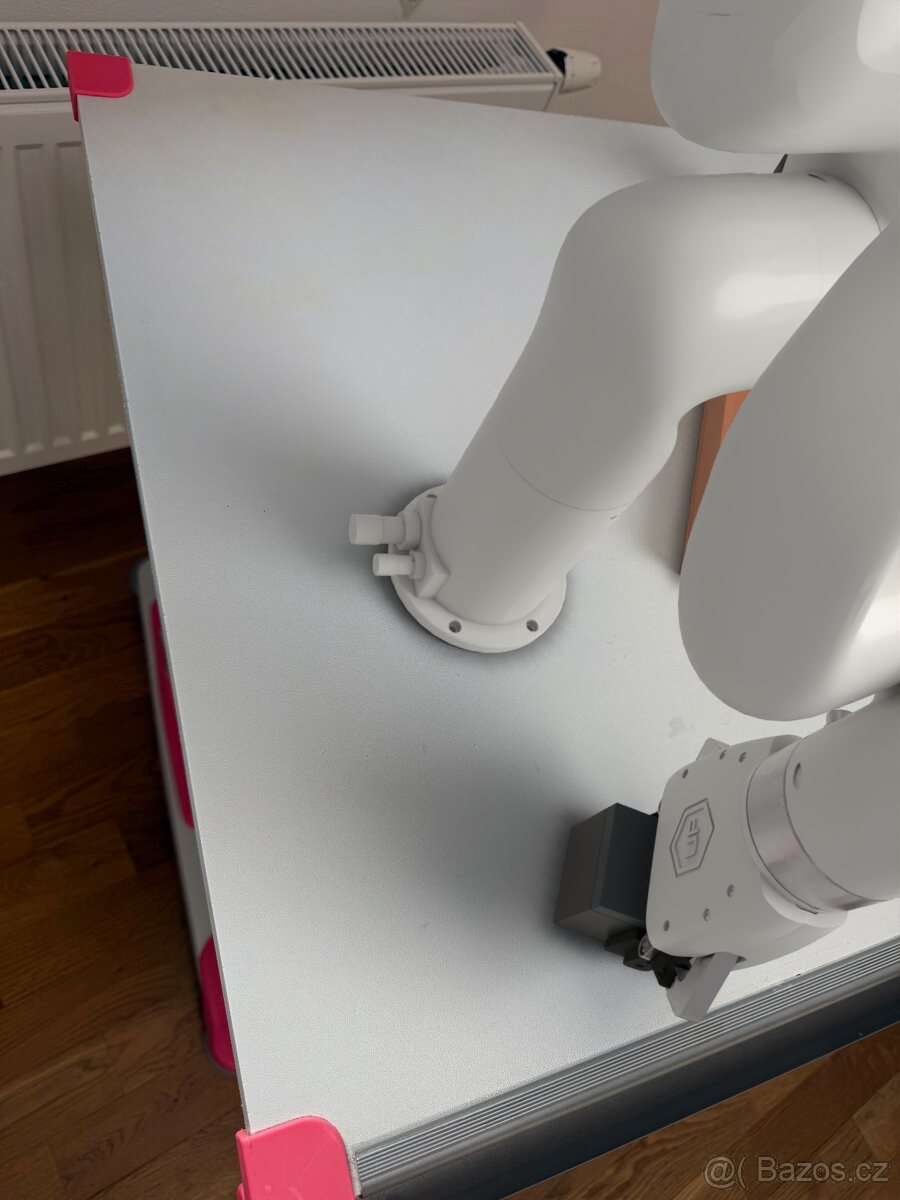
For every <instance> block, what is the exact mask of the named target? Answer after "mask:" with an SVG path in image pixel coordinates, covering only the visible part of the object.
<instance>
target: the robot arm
mask: <svg viewBox="0 0 900 1200" xmlns="http://www.w3.org/2000/svg"><path fill="white" fill-rule="evenodd" d="M654 23H655V24H654V29H653V34H652V39H651V49H650V56H649V72H650V87H651V92H652V93H651V94H652V96H653V100H654V103H655V104H656V106H657V109H658V112H659V114H660V116H661V117H662V119H663V120H664V122H665V123H666V124H667V125H668V126H669V127H670V128H671V129H672V130H673V131H675V132H676V133H677V134H678V135H679V136H681V137H682V138H683V139H685V140H687V141H689V142H691V143H694V144H696V145H698V146H702V147H704V148H706V149H711V150H714V151H719V152H727V153H733V154H754V155H784V154H788V156H787V159H786V162H785V165H784V168H783V171H782V173H773V172H772V173H771V172H769V173H768V172H767V173H765V172H764V173H756V172H734V173H714V174H713V173H711V174H691V175H690V174H689V175H687V174H686V175H677V176H667V177H661V178H656V179H652V180H646V181H641V182H637V183H635V184H632V185H629V186H626V187H623V188H620V189H618V190H616V191H612V192H611V193H609V194H607V195H605V196H604V197H602V198H600V199H599V200H597V201H596V202H595V203H593V204H592V205H591V206H589V207H588V208H587V209H586V210H584V212H583V213H582V214H581V215H579V217H578V218H577V219H576V221H575V222H574V223H573V225H571V226H570V227H571V228H570V229H569V231H568V232H567V234H566V235H565V238H564V240H563V242H562V245H561V246H560V248H559V251H558V253H557V256H556V260H555V262H554V266H553V268H552V272H551V277H550V278H549V282H548V286H547V288H546V289H547V290H546V292H545V297H544V299H543V303H542V306H541V308H540V312H539V315H538V317H537V320H536V322H535V324H534V327H533V329H532V332H531V334H530V336H529V338H528V340H527V342H526V344H525V346H524V348H523V349H522V352H521V354H520V355H519V358H518V359H517V361H516V362H515V365H514V366H513V368H512V370H511V372H510V373H509V375H508V377H507V378H506V380H505V382H504V384H503V385H502V387H501V389H500V390H499V392H498V393H497V394H498V395H497V397H496V398H495V400H494V402H493V403H492V405H491V407H490V408H489V410H488V412H487V414H486V415H485V417H484V418H483V420H482V422H481V424H480V425H479V427H478V429H477V430H476V432H475V434H474V436H473V437H472V438H471V440H470V442H469V444H468V445H467V447H466V448H465V451H464V452H463V453H462V455H461V457H460V459H459V460H458V462H457V464H456V465H455V467H454V469H453V470H452V472H451V474H450V476H449V477H448V479H447V480H446V482H445V483H444V484H440V485H437V486H435V487H431V488H429V489H427V490H425V491H423V492H422V493H420V494H419V495H416V496H415V497H414V498H413V499H412V500H411V501H410V502H409V503H408V504H407V505H406V506H405V507H404V509H403V510H400V511H399V512H398V513H397V514H396V516H391V515H390V516H388V515H381V514H367V513H366V514H365V513H352V514H351V515H350V517H349V520H348V539H349V543H350V544H351V545H367V546H372V545H373V546H375V545H376V546H380V545H383V544H386V545H387V544H388V546H387V553H374V554H373V557H372V571H373V574H374V576H378V577H379V576H381V577H382V576H384V577H385V576H386V577H387V576H389V577H390V579H391V582H392V584H393V587H394V590H395V592H396V594H397V596H398V598H399V599H400V601H401V602H402V604H403V606H404V607H405V609H406V610H407V611H408V613H409V614H410V615H411V616H412V617H413V618H414V619H415V620H416V621H417V623H419V625H421V626H422V627H423V628H424V629H426V630H427V631H428V632H429V633H431V634H432V635H433V636H435V637H437V638H439V639H440V640H441V641H444V642H446V643H448V644H450V645H451V646H455V647H457V648H460V649H463V650H467V651H470V652H476V653H484V654H499V653H501V654H502V653H505V652H511V651H515V650H519V649H521V648H524V647H525V646H527V645H530V644H531V643H533V642H534V641H536V640H537V639H538V638H539V637H540V636H542V635H543V634H544V633H545V632H546V631H547V630H548V629H549V628H550V627H551V626H552V624H554V622H555V620H556V619H557V617H558V616H559V614H560V613H561V610H562V607H563V604H564V600H565V598H566V591H567V584H568V583H567V581H568V580H567V574H568V573H570V571H571V570H572V569H573V568H574V567H575V565H576V564H577V563H578V562H579V561H580V560H581V559H582V558H583V557H584V556H585V555H586V554H587V552H588V551H589V550H590V549H591V548H592V547H593V546H594V545H595V544H596V543H597V541H599V539H600V538H601V537H603V535H604V534H605V533H606V532H607V531H608V530H609V528H611V527H612V525H613V524H614V523H615V522H616V521H617V520H618V519H619V518H620V516H621V515H623V514H624V512H625V511H626V510H627V509H628V508H629V507H630V506H631V505H632V503H634V501H636V499H637V498H638V497H639V496H640V494H641V493H642V492H643V491H644V490H645V489H646V488H647V487H648V486H649V484H650V483H651V482H652V481H653V480H654V479H655V477H657V475H658V474H659V473H660V472H661V470H662V469H663V468H664V466H665V465H666V464H667V462H668V461H669V459H670V457H671V455H672V453H673V451H674V449H675V447H676V443H677V440H678V427H679V426H678V425H679V423H680V421H681V419H682V418H683V417H684V416H685V415H686V414H687V413H688V412H690V411H691V410H692V409H694V408H695V407H696V406H698V405H700V404H702V403H705V401H707V400H709V399H712V398H715V397H718V396H721V395H725V394H729V393H734V392H739V391H744V390H750V389H752V390H751V391H750V393H749V394H748V396H747V397H746V399H745V400H744V402H743V404H742V405H741V407H740V409H739V410H738V412H737V414H736V416H735V418H734V420H733V422H732V424H731V425H730V427H729V429H728V431H727V433H726V435H725V438H724V440H723V442H722V445H721V447H720V449H719V452H718V454H717V456H716V459H715V462H714V465H713V468H712V470H711V473H710V477H709V480H708V483H707V486H706V489H705V492H704V495H703V498H702V500H701V503H700V506H699V509H698V512H697V515H696V518H695V521H694V524H693V527H692V530H691V533H690V536H689V540H688V543H687V547H686V552H685V556H684V560H683V564H682V563H681V564H682V569H681V568H680V571H681V575H680V574H679V582H678V583H679V584H678V596H677V597H678V599H677V611H678V626H679V631H680V636H681V641H682V645H683V648H684V650H685V653H686V656H687V658H688V661H689V663H690V665H691V666H692V668H693V669H694V671H695V673H696V675H697V678H698V679H699V681H701V682H702V684H703V685H704V686H705V688H707V689H708V691H709V692H710V693H711V694H712V695H713V696H714V697H716V698H717V699H718V700H720V701H721V703H723V704H724V705H725V706H728V707H730V708H731V709H733V710H735V711H736V712H739V713H741V714H742V715H745V716H749V717H752V718H756V719H759V720H763V721H771V722H772V721H773V722H793V721H799V720H806V719H811V718H815V717H817V716H820V715H823V714H826V715H825V725H823V727H821V728H819V729H817V730H815V731H814V732H812V733H810V734H808V735H806V736H805V737H802V736H799V735H795V734H779V735H773V736H767V737H762V738H755V739H750V740H746V741H743V742H740V743H735V744H732V745H730V744H728V743H725V742H723V741H720V740H718V739H715V738H713V737H708V738H707V739H706V740H705V741H704V743H703V745H702V747H701V749H700V751H699V752H698V754H697V756H696V758H695V759H694V761H692V762H690V763H688V764H686V765H684V766H682V767H681V768H679V769H678V770H676V771H675V772H674V773H672V774H671V776H670V777H669V778H668V780H667V782H666V784H665V787H664V789H663V793H662V797H661V799H660V800H659V802H658V805H657V809H656V810H657V811H655V812H652V813H650V814H649V815H651V816H654V817H657V818H659V819H658V826H657V833H656V840H655V847H654V854H653V862H652V869H651V877H650V885H649V893H648V902H647V911H646V928H647V931H646V930H643V929H640V928H635V929H632V930H629V931H626V932H623V933H620V934H616V935H613V936H610V937H609V938H608V939H606V942H605V941H604V943H605V944H604V950H605V951H607V952H610V953H613V954H615V955H618V956H621V957H623V958H622V959H623V960H622V964H623V965H624V966H625V967H627V968H630V969H633V970H635V971H640V972H651V971H653V974H654V976H655V979H656V981H657V984H658V985H659V987H662V988H664V989H665V991H666V993H665V996H666V998H667V1000H668V1003H669V1006H670V1008H671V1011H672V1013H673V1015H674V1016H675V1017H678V1018H681V1019H683V1020H687V1021H690V1022H692V1023H694V1024H700V1023H701V1022H702V1021H703V1020H704V1018H705V1016H706V1014H707V1012H708V1011H709V1009H710V1007H711V1006H712V1005H713V1002H714V1001H715V999H716V997H717V996H718V994H719V992H720V990H721V989H722V987H723V985H724V983H725V982H726V980H727V979H728V976H729V975H730V973H731V972H735V971H740V970H744V969H745V970H746V969H749V968H752V967H756V966H760V965H763V964H766V963H769V962H772V961H774V960H778V959H780V958H783V957H786V956H787V955H790V954H792V953H795V952H798V951H799V950H801V949H803V948H806V947H807V946H810V945H812V944H813V943H816V942H817V941H819V940H821V939H822V938H824V937H826V936H828V935H829V934H831V933H832V932H834V931H835V930H837V929H838V928H840V927H841V926H842V925H844V924H845V923H846V921H847V917H848V914H849V912H850V911H854V910H857V909H862V908H865V907H869V906H873V905H877V904H880V903H881V904H882V903H885V902H889V901H892V900H895V899H900V0H659V3H658V9H657V13H656V19H655V22H654ZM873 695H874V696H873ZM870 696H873V698H872V700H871V701H870V703H868V704H866V705H864V706H863V707H861V708H858V709H857V710H855V711H850V710H848V709H840V708H843V707H845V706H848V705H850V704H853V703H855V702H858V701H860V700H864V699H867V698H868V697H870Z"/></svg>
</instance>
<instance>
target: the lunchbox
mask: <svg viewBox="0 0 900 1200" xmlns="http://www.w3.org/2000/svg"><path fill="white" fill-rule="evenodd" d="M658 819H659V818H657V817H654V816H651V815H650V814H648V813H646V812H643V811H641V810H638V809H635V808H633V807H630V806H628V805H625V804H623V803H620V802H615V803H613V804H611V805H609V806H607V807H606V808H604V809H602V810H601V811H599V812H597V813H595V814H593V815H591V816H590V817H588V818H586V819H584V820H583V821H581V822H579V823H577V824H575V825H573V826H572V827H571V830H570V836H569V840H568V845H567V851H566V857H565V861H564V867H563V872H562V878H561V883H560V888H559V894H558V897H557V905H556V910H555V916H554V920H553V924H554V925H557V926H560V927H563V928H565V929H569V930H571V931H573V932H577V933H580V934H583V935H585V936H588V937H591V938H593V939H597V940H600V941H602V942H604V943H605V942H606V939H608V938H609V937H610V936H613V935H616V934H620V933H623V932H626V931H629V930H632V929H635V928H640V929H643V930H646V931H647V928H646V911H647V902H648V893H649V885H650V877H651V869H652V862H653V854H654V847H655V840H656V833H657V826H658Z"/></svg>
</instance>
